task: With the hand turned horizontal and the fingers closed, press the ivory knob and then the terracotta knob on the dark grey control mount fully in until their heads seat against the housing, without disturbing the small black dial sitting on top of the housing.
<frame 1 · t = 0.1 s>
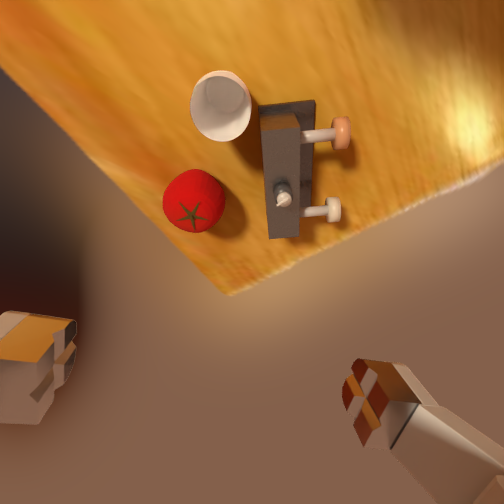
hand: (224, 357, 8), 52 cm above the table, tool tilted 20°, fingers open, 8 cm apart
knob 1: (314, 211, 58), point 7 cm above the table, slide at 0.0 cm
knob 2: (318, 135, 48), point 7 cm above the table, slide at 0.0 cm
cup: (225, 92, 50), on the table
mount: (301, 162, 59), on the table
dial: (282, 190, 50), point 11 cm above the table, touching mount
tomato: (198, 186, 62), on the table
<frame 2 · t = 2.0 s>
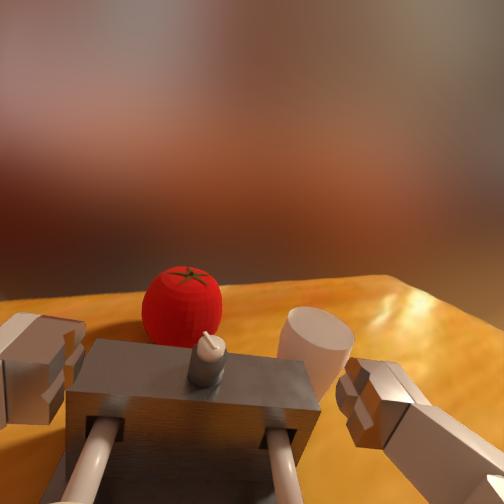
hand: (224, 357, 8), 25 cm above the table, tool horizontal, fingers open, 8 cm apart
knob 1: (86, 478, 20), point 7 cm above the table, slide at 0.0 cm
knob 2: (286, 483, 23), point 7 cm above the table, slide at 0.0 cm
cup: (293, 395, 41), on the table
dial: (205, 373, 26), point 11 cm above the table, touching mount
tomato: (178, 340, 45), on the table
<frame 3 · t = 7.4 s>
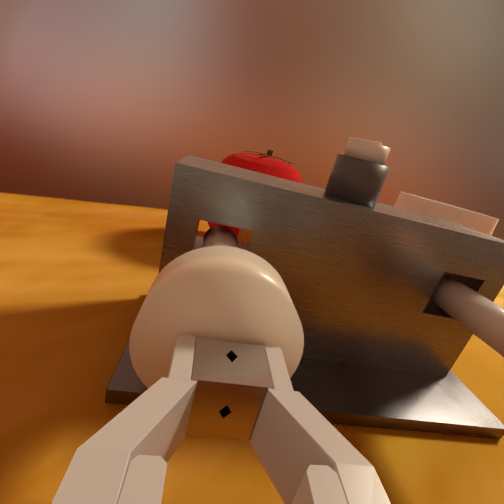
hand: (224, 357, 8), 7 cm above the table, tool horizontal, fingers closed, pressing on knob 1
knob 1: (220, 277, 13), point 7 cm above the table, slide at 0.6 cm, touching gripper
cup: (395, 307, 32), on the table
mount: (318, 392, 17), on the table
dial: (349, 199, 18), point 11 cm above the table, touching mount
tomato: (241, 250, 37), on the table
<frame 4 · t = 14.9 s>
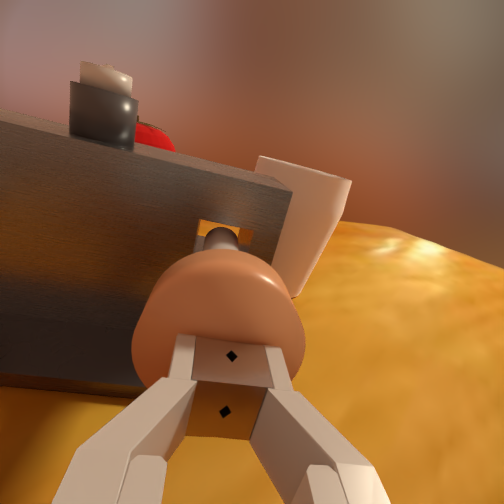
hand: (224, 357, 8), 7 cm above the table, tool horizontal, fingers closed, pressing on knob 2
knob 2: (221, 279, 13), point 7 cm above the table, slide at 0.1 cm, touching gripper
cup: (269, 284, 30), on the table
mount: (53, 357, 15), on the table
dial: (103, 139, 16), point 11 cm above the table, touching mount
tomato: (123, 226, 35), on the table
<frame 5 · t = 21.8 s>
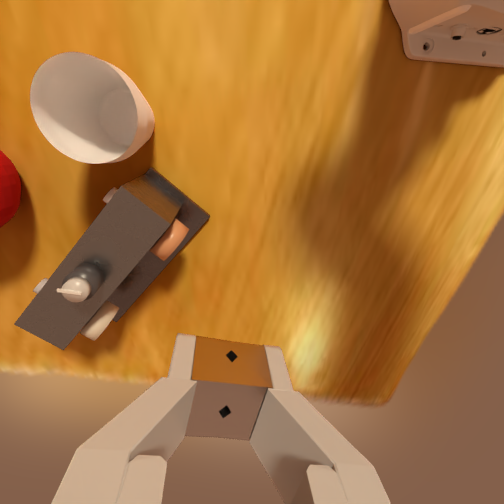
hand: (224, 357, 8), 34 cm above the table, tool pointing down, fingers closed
knob 1: (74, 304, 37), point 7 cm above the table, slide at 6.0 cm
knob 2: (143, 220, 34), point 7 cm above the table, slide at 6.0 cm
cup: (127, 119, 36), on the table
mount: (150, 262, 43), on the table
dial: (89, 276, 31), point 11 cm above the table, touching mount
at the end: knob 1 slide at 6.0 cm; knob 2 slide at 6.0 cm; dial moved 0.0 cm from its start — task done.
